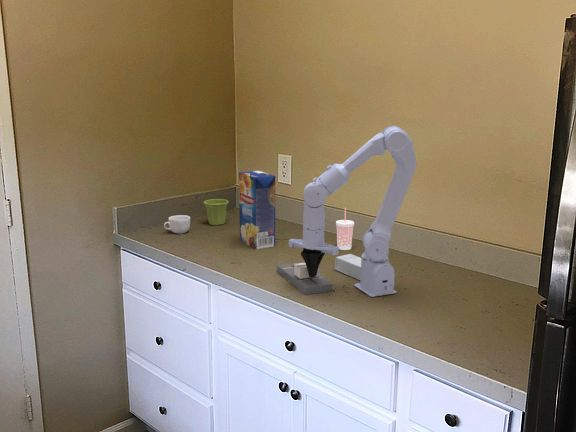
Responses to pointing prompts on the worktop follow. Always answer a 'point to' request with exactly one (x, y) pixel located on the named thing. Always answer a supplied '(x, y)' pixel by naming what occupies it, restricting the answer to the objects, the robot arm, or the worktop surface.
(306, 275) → the fader
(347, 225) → the beverage cup
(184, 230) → the teacup
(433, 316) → the worktop surface
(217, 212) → the plant pot
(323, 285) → the mixing panel
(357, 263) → the skincare box
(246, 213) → the juice carton
